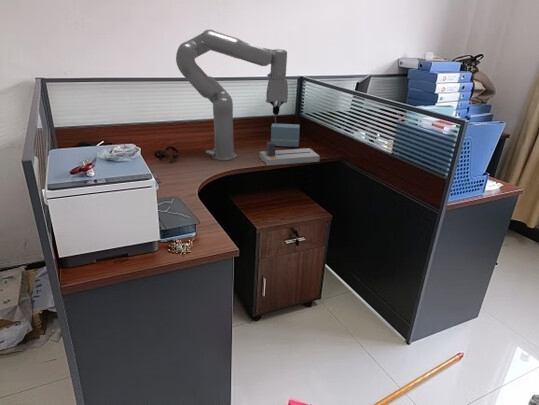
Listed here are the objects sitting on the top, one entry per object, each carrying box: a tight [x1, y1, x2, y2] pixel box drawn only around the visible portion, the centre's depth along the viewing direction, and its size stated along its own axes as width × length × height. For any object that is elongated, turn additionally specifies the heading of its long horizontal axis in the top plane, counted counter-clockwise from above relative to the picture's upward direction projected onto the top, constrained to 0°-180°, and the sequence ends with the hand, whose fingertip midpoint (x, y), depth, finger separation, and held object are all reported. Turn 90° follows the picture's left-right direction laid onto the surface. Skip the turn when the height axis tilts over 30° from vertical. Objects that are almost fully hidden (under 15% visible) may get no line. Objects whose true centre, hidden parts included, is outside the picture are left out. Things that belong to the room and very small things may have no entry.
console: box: [259, 147, 320, 166], centre depth 202 cm, size 28×14×3 cm, turn 106°
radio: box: [270, 117, 301, 149], centre depth 222 cm, size 16×9×20 cm, turn 84°
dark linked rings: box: [153, 145, 180, 164], centre depth 195 cm, size 12×10×8 cm
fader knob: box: [265, 140, 276, 156], centre depth 197 cm, size 3×5×6 cm, turn 16°
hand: (275, 114), depth 197 cm, fingers closed
